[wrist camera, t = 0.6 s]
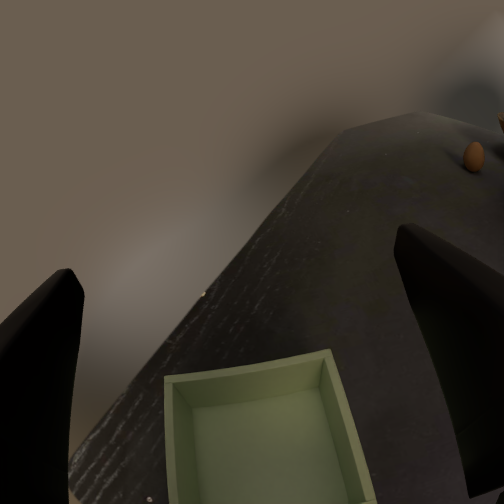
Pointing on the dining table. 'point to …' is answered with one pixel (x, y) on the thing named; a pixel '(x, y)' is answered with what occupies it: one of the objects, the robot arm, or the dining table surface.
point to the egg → (474, 157)
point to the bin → (264, 436)
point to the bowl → (501, 120)
